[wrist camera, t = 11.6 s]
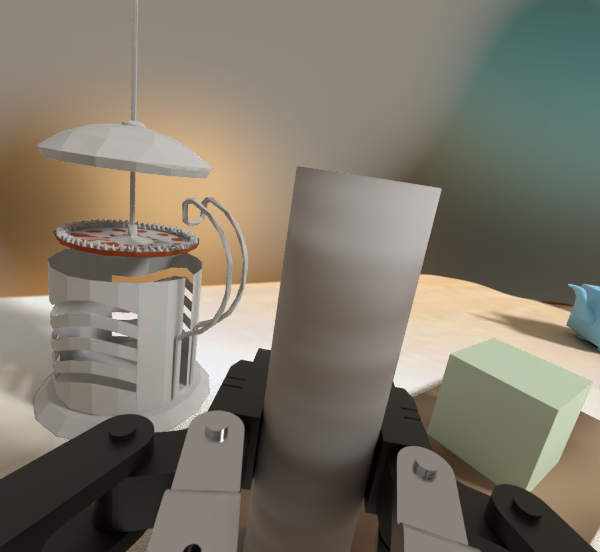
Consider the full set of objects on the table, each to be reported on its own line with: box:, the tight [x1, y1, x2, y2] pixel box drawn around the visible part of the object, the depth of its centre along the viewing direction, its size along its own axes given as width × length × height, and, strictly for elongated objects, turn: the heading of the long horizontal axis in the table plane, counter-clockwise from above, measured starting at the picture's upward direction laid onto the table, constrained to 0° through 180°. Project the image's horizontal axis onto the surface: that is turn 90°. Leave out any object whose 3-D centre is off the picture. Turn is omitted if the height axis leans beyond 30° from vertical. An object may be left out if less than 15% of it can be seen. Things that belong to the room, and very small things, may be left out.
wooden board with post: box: [237, 167, 600, 552], centre depth 16 cm, size 10×26×14 cm, turn 127°
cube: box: [427, 338, 593, 492], centre depth 19 cm, size 5×5×5 cm
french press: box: [33, 0, 248, 439], centre depth 19 cm, size 10×12×25 cm
